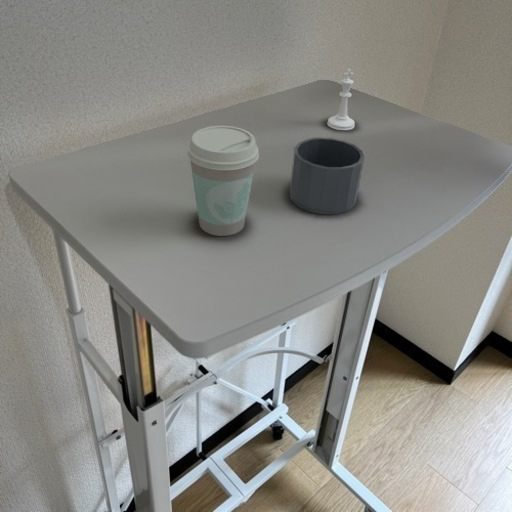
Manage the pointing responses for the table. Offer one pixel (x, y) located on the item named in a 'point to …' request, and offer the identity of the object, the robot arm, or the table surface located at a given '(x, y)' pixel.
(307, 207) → the tumbler
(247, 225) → the table surface
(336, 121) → the chess piece
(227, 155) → the coffee cup
